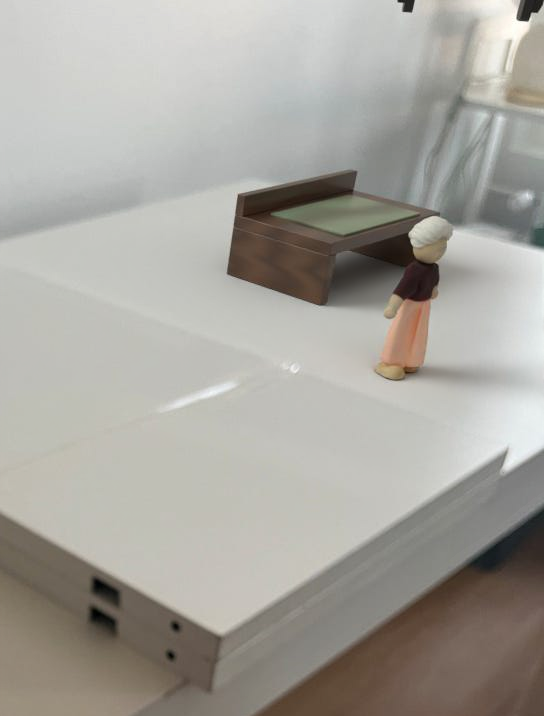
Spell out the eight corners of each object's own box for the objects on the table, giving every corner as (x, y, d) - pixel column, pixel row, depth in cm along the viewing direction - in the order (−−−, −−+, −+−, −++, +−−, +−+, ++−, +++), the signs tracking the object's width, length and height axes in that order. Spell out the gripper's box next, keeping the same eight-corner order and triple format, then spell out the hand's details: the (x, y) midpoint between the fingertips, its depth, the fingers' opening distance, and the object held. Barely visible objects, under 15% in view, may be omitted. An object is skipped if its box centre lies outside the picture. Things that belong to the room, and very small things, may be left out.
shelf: (426, 269, 113) (446, 192, 109) (320, 305, 102) (336, 221, 97) (335, 242, 120) (350, 169, 115) (226, 273, 109) (237, 193, 104)
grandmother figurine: (406, 388, 86) (447, 231, 78) (362, 376, 88) (398, 221, 80) (433, 361, 91) (474, 211, 84) (391, 350, 93) (428, 202, 85)
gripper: (425, -277, 67) (370, 14, 77) (658, -269, 65) (570, 29, 74) (419, -264, 73) (368, 5, 82) (631, -256, 71) (553, 18, 80)
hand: (464, 16), depth 78 cm, fingers open, 8 cm apart
